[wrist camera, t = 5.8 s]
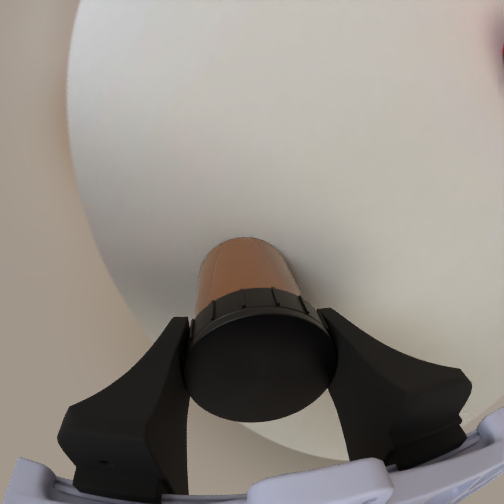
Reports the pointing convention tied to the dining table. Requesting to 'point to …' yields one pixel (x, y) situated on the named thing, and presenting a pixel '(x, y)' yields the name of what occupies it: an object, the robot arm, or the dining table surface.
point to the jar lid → (258, 355)
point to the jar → (242, 270)
